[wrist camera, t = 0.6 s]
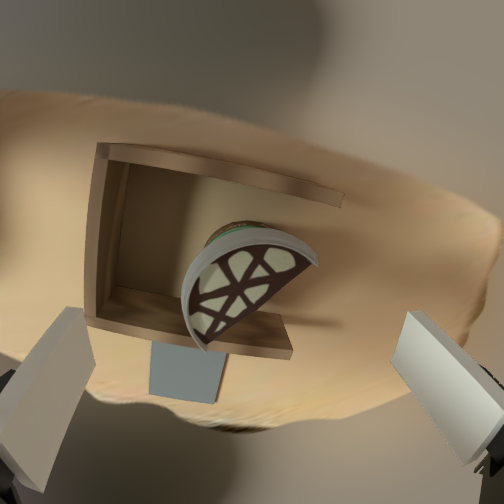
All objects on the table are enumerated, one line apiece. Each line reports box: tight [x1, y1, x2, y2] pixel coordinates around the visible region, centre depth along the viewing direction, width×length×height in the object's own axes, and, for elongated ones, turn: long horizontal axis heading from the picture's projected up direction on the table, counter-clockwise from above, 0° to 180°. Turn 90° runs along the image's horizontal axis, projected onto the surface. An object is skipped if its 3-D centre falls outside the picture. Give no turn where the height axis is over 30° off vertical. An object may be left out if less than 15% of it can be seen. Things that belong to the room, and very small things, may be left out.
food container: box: [181, 221, 319, 353], centre depth 27 cm, size 12×6×10 cm, turn 129°
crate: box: [84, 142, 344, 360], centre depth 28 cm, size 20×16×7 cm
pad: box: [149, 341, 227, 404], centre depth 35 cm, size 9×14×1 cm, turn 167°
